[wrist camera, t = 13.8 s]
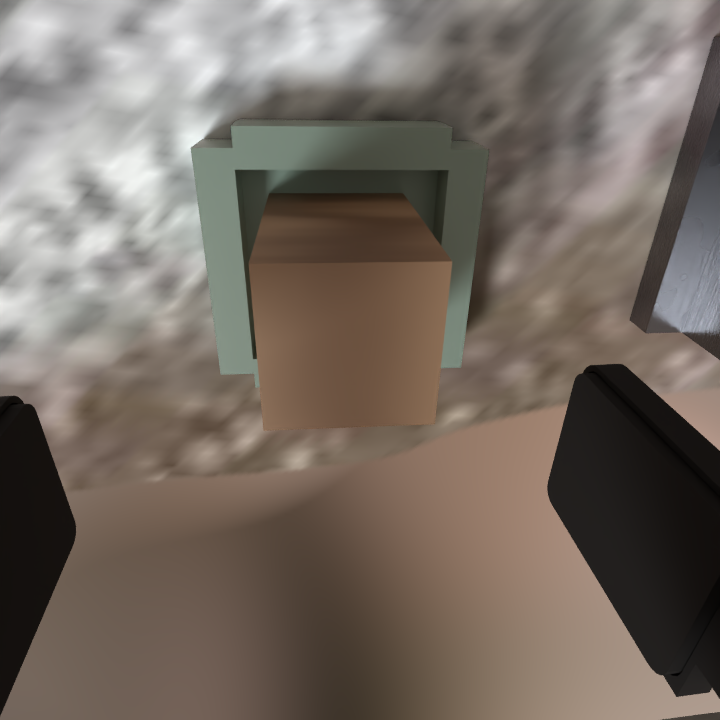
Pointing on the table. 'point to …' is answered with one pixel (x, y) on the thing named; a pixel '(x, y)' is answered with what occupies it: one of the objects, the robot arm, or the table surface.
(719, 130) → the block
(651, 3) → the table surface
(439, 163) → the tray
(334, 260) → the block
